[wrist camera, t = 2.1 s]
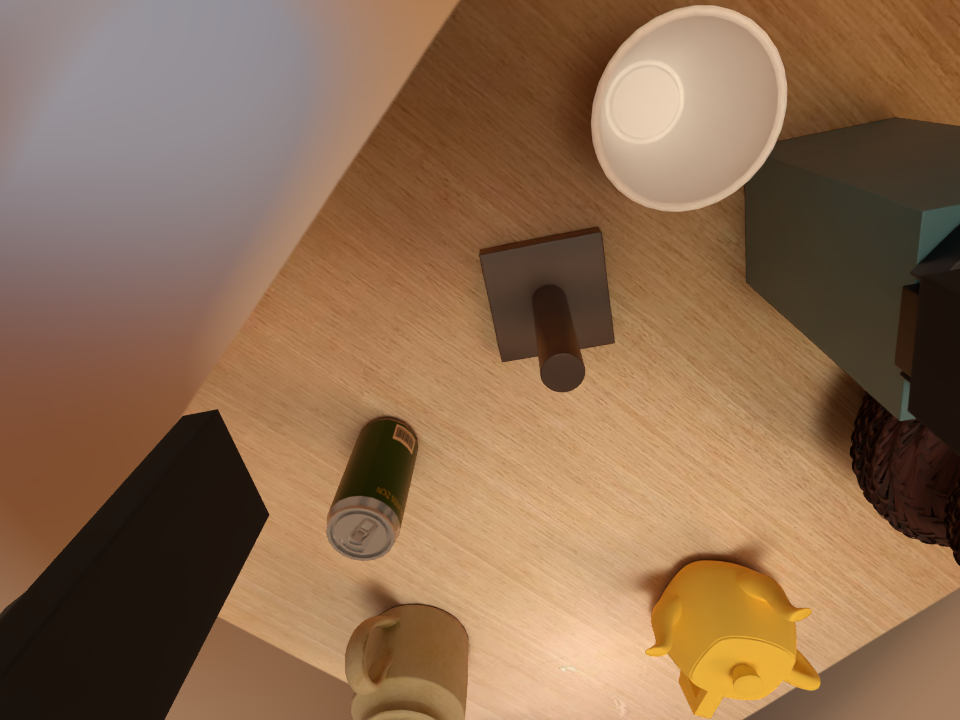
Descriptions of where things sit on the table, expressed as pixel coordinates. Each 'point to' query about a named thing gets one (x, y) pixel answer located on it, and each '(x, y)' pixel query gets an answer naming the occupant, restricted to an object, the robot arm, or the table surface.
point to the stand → (852, 237)
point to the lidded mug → (408, 666)
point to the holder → (550, 302)
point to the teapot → (729, 635)
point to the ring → (947, 256)
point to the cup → (689, 108)
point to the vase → (907, 475)
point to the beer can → (373, 491)
